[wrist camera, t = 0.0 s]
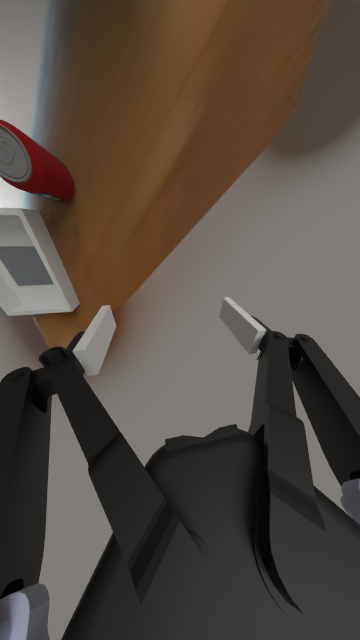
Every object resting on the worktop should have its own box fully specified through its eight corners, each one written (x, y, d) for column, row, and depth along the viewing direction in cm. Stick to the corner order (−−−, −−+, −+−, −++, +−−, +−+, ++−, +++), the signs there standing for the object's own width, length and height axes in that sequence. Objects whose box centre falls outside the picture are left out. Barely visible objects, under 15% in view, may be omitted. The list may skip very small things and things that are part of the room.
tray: (-47, 209, 27) (-82, 205, 23) (39, 211, 29) (21, 208, 25) (23, 307, 39) (8, 316, 35) (80, 303, 41) (72, 311, 37)
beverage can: (28, 176, 26) (-45, 144, 17) (46, 144, 25) (-24, 87, 15) (65, 210, 30) (23, 201, 20) (83, 184, 28) (46, 160, 18)
